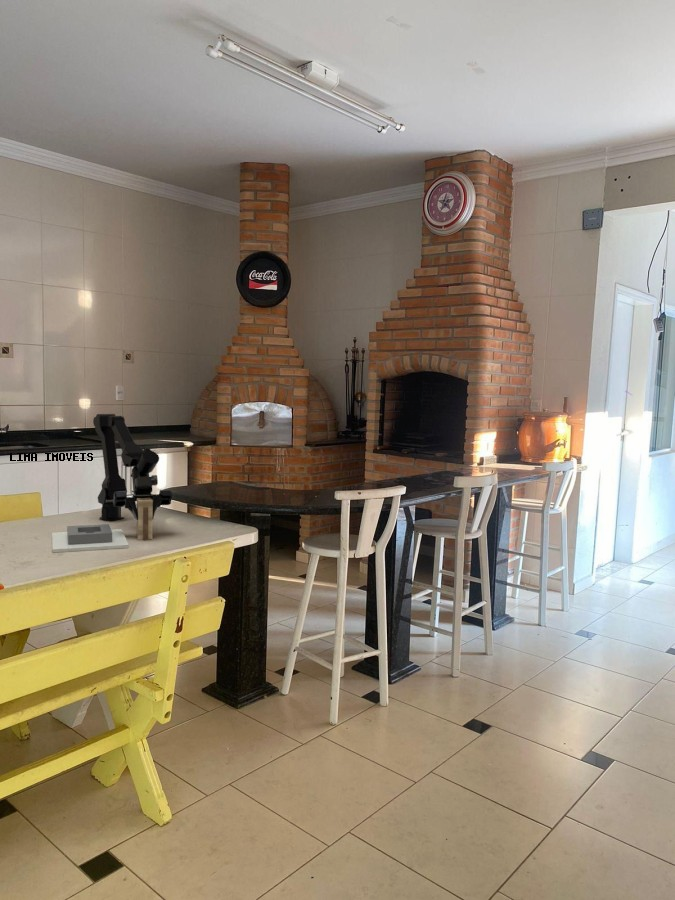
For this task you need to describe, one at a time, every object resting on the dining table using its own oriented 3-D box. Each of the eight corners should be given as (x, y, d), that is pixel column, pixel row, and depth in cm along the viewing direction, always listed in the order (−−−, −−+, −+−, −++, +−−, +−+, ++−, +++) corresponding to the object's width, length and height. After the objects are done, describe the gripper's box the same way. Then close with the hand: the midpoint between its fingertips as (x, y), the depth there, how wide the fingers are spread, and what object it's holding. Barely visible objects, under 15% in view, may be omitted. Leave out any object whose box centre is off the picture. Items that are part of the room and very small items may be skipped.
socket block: (52, 535, 225) (52, 523, 225) (121, 532, 234) (121, 520, 233) (52, 552, 205) (52, 539, 205) (128, 547, 214) (128, 535, 213)
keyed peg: (136, 536, 228) (136, 498, 227) (150, 535, 230) (150, 497, 229) (138, 540, 223) (138, 501, 222) (152, 539, 225) (153, 500, 224)
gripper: (114, 467, 225) (117, 506, 216) (171, 466, 232) (176, 504, 223) (112, 486, 233) (114, 525, 224) (167, 485, 240) (172, 522, 231)
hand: (145, 519), depth 225 cm, fingers closed on keyed peg, 4 cm apart
